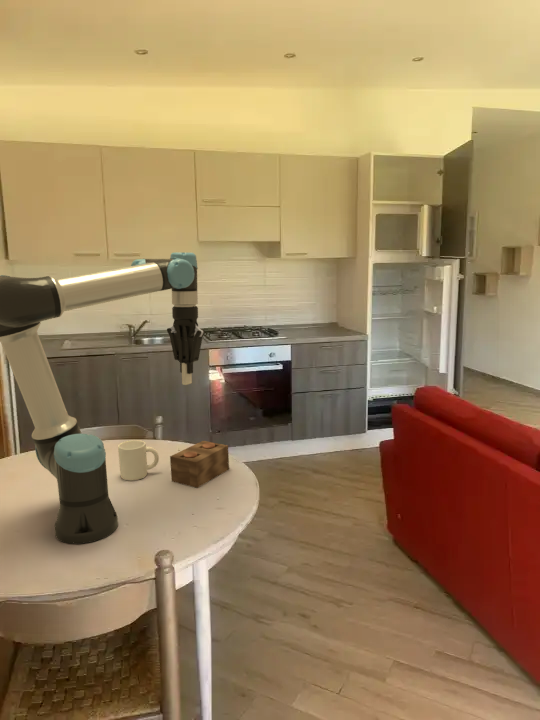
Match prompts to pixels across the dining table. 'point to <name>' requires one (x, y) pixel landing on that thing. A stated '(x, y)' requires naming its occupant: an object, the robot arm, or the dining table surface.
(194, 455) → the peg near
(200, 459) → the socket block
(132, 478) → the mug
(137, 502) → the dining table surface
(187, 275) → the robot arm
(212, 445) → the peg far
